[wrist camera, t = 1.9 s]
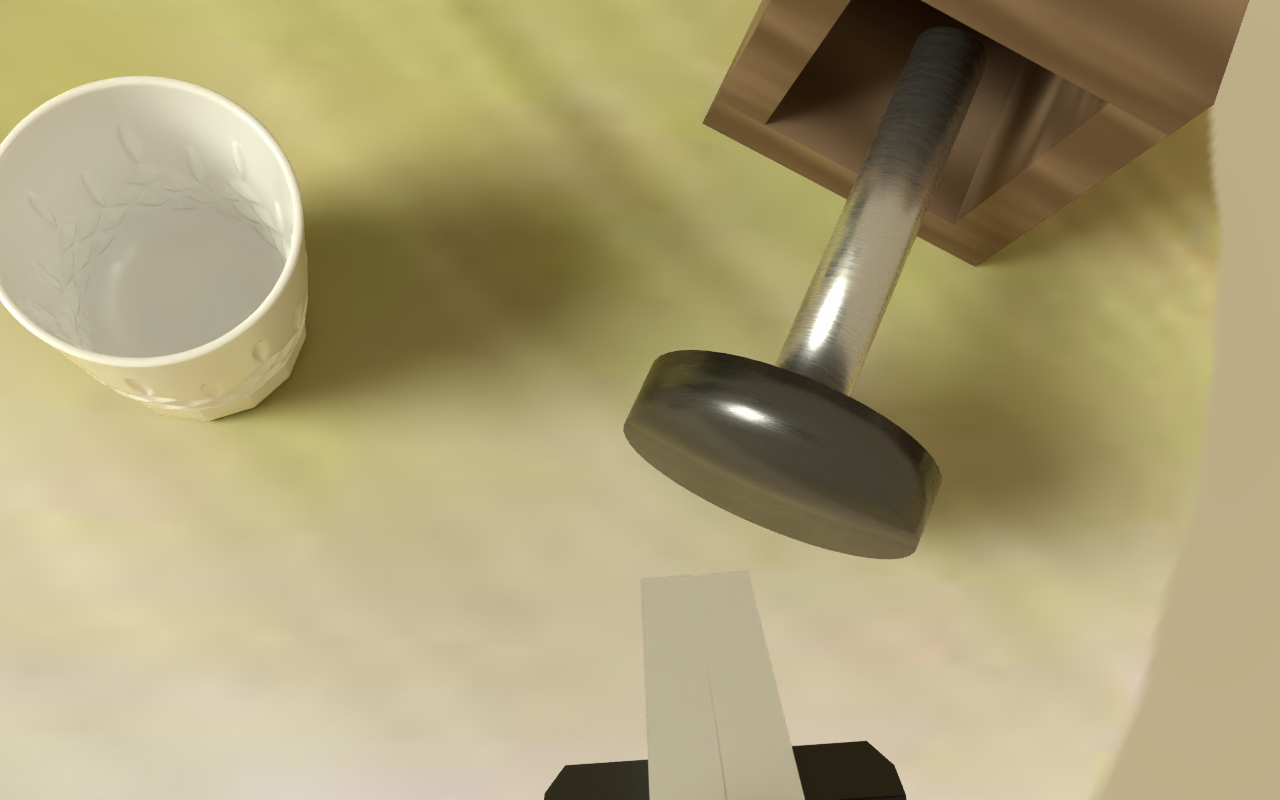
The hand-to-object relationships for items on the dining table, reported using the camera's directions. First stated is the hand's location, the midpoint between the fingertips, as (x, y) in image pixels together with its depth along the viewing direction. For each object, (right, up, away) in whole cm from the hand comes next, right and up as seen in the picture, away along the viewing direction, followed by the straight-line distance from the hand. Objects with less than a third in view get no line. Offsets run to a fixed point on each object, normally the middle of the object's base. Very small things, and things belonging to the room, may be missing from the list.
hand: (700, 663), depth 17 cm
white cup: (-16, +6, +23) cm, 29 cm away
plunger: (+5, +7, +24) cm, 25 cm away
